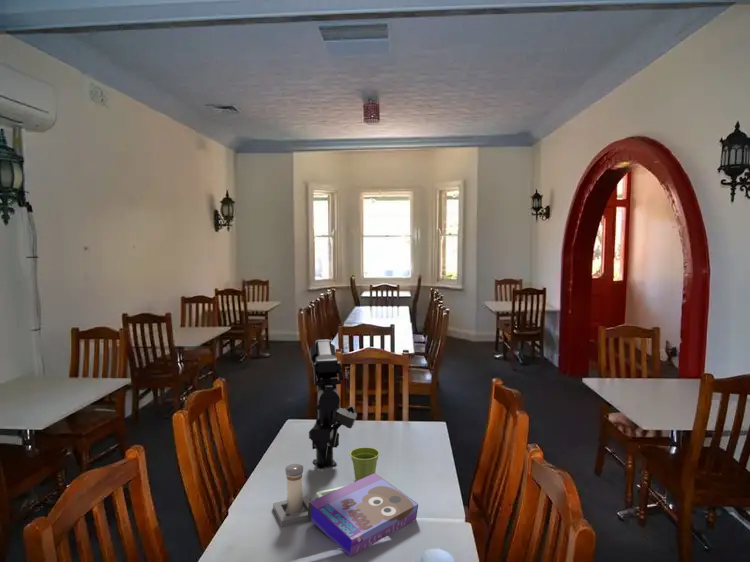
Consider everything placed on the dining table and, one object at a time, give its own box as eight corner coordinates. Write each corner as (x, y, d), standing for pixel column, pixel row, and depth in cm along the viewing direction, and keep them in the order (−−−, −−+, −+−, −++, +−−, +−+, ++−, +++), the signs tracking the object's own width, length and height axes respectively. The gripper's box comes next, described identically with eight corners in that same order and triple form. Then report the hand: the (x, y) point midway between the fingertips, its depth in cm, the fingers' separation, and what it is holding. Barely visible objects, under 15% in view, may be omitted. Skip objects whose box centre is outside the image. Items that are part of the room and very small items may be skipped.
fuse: (284, 510, 147) (283, 465, 146) (301, 506, 149) (300, 462, 148) (288, 519, 143) (287, 473, 141) (306, 515, 144) (305, 469, 143)
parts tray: (316, 500, 154) (316, 492, 154) (348, 492, 159) (348, 485, 158) (327, 516, 145) (327, 508, 145) (360, 508, 149) (360, 500, 149)
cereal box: (418, 504, 143) (351, 540, 127) (416, 519, 144) (349, 557, 128) (374, 472, 155) (308, 502, 139) (373, 487, 156) (307, 518, 140)
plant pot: (345, 475, 170) (345, 449, 169) (372, 470, 173) (372, 444, 172) (356, 488, 161) (356, 461, 160) (384, 482, 165) (384, 456, 164)
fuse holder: (273, 511, 148) (273, 503, 148) (307, 503, 152) (307, 495, 152) (281, 530, 139) (281, 521, 139) (318, 521, 143) (317, 512, 143)
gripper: (346, 411, 144) (347, 467, 145) (360, 393, 163) (361, 442, 164) (307, 410, 146) (308, 464, 147) (325, 391, 164) (326, 440, 166)
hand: (328, 452), depth 156 cm, fingers open, 9 cm apart
